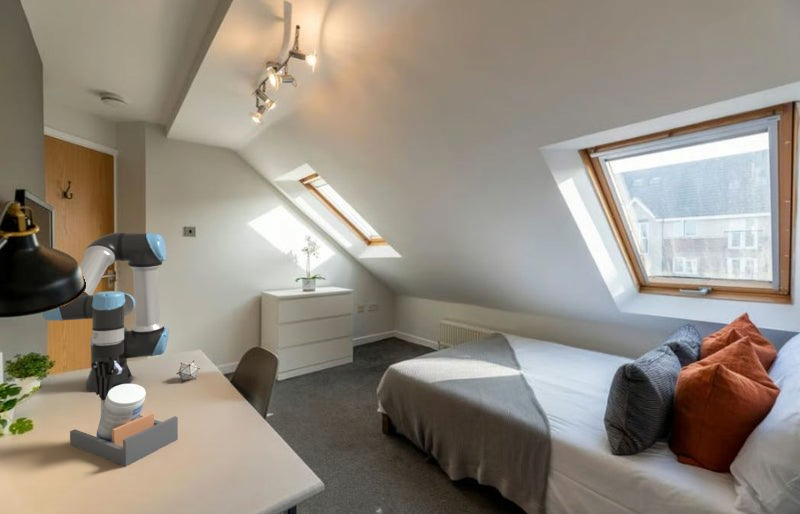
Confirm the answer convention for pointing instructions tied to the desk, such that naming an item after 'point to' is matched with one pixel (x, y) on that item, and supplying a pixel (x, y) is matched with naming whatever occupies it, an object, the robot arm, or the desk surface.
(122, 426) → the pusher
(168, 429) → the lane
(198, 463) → the desk surface
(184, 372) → the game die
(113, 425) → the supplement tub
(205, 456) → the desk surface
